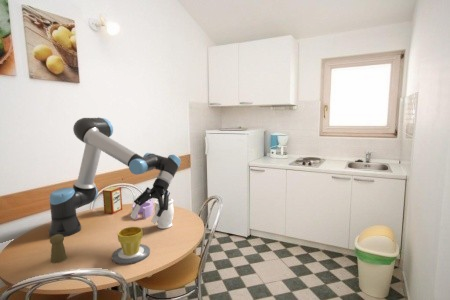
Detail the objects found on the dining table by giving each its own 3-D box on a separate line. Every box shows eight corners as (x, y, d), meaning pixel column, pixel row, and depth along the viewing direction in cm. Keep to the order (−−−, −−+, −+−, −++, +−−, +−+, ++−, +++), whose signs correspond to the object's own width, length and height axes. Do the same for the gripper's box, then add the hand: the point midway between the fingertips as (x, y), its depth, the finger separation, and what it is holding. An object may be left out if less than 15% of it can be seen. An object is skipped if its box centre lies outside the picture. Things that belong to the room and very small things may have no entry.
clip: (139, 208, 180) (139, 199, 179) (157, 208, 180) (157, 198, 179) (129, 219, 160) (128, 208, 159) (149, 219, 160) (149, 208, 159)
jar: (166, 221, 157) (165, 196, 155) (178, 225, 150) (177, 199, 148) (151, 226, 148) (150, 201, 147) (163, 231, 142) (161, 204, 140)
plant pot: (135, 259, 111) (134, 237, 110) (114, 256, 113) (112, 235, 112) (147, 247, 121) (146, 227, 120) (127, 245, 123) (126, 225, 122)
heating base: (104, 259, 114) (103, 256, 114) (132, 243, 128) (132, 240, 128) (130, 268, 107) (129, 265, 106) (157, 250, 121) (157, 247, 121)
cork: (69, 255, 118) (67, 232, 116) (61, 262, 112) (59, 238, 110) (56, 256, 117) (53, 232, 116) (47, 263, 111) (45, 238, 110)
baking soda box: (112, 214, 170) (110, 190, 168) (104, 213, 172) (102, 189, 170) (122, 209, 179) (120, 186, 177) (114, 208, 180) (112, 186, 179)
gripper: (185, 188, 130) (167, 228, 119) (148, 183, 142) (128, 219, 130) (178, 180, 125) (158, 221, 113) (141, 175, 136) (119, 212, 125)
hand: (142, 220), depth 122 cm, fingers open, 13 cm apart
